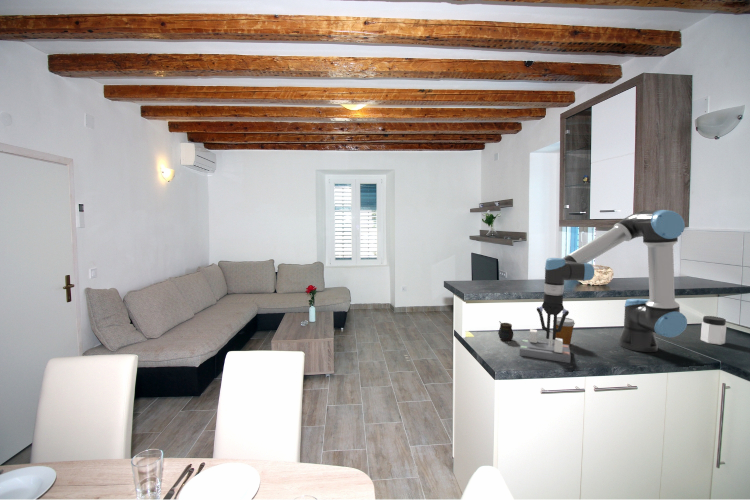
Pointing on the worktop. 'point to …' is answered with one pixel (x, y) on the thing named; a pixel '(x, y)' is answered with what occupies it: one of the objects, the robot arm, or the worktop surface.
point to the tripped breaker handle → (558, 345)
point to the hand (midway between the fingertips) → (550, 346)
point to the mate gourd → (505, 331)
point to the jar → (713, 330)
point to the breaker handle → (533, 335)
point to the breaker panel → (544, 351)
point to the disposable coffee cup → (565, 330)
